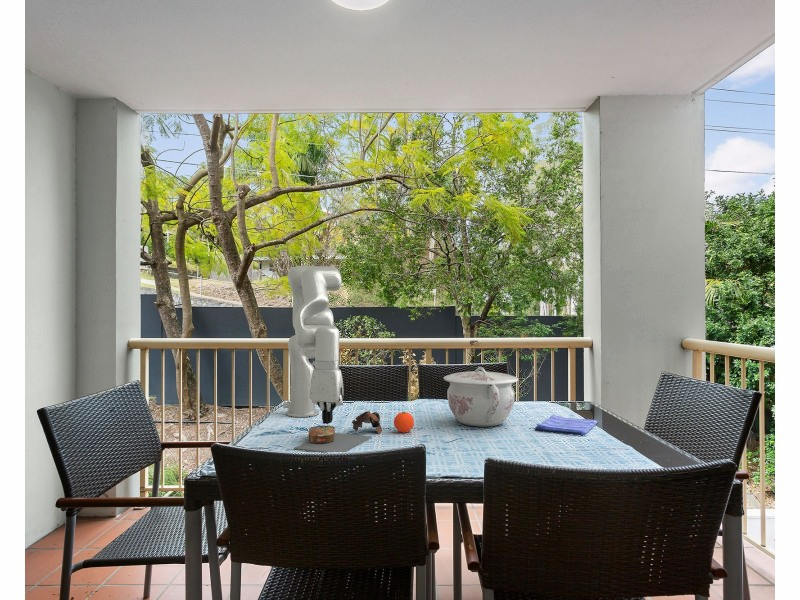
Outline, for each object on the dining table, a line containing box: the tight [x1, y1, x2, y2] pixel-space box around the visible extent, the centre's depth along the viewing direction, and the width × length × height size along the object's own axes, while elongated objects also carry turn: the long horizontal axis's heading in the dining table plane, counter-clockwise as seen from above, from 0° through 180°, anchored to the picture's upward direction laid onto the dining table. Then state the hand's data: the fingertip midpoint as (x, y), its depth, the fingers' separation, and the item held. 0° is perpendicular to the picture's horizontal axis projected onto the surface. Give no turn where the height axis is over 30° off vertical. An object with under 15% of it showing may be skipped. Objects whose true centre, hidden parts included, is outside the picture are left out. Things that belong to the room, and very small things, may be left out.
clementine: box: [393, 411, 415, 433], centre depth 201 cm, size 8×7×7 cm
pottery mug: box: [351, 410, 383, 435], centre depth 202 cm, size 12×10×8 cm
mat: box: [293, 432, 373, 453], centre depth 185 cm, size 16×22×1 cm
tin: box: [307, 425, 336, 443], centre depth 190 cm, size 15×3×8 cm
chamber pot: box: [443, 366, 519, 428], centre depth 214 cm, size 28×28×21 cm
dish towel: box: [534, 414, 598, 437], centre depth 208 cm, size 17×24×3 cm
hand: (327, 422), depth 187 cm, fingers closed
